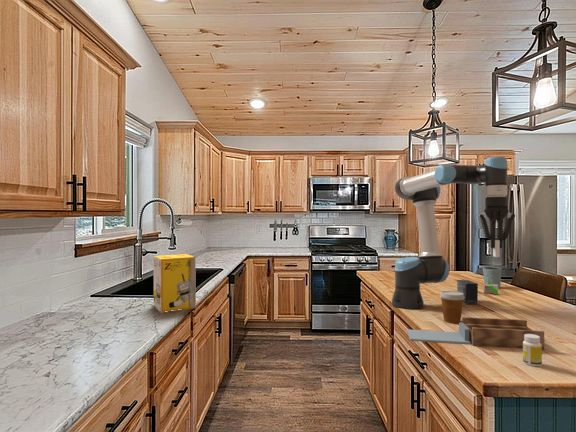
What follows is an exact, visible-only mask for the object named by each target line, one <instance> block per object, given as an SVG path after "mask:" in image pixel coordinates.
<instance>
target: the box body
mask: <svg viewBox="0 0 576 432" xmlns="http://www.w3.org/2000/svg"><path fill="white" fill-rule="evenodd" d="M461 323H464V324H465V325H466V326H467V327H468V328H469V341H470V342H471V344H470V345H472V346H474V347H489V348H490V347H491V348H506V349H520V350H521V349H522V350H523V341H524V335H525V334H534V335H538V336H539V337H540V343H541V345H542V351H543V350H544V351H545V331H544V330H533V329H531V328H530V327H529V326H528V320H527V319H512V318H511V319H510V318H489V317H488V318H487V317H469V316H468V317H467V316H461Z"/></svg>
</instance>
